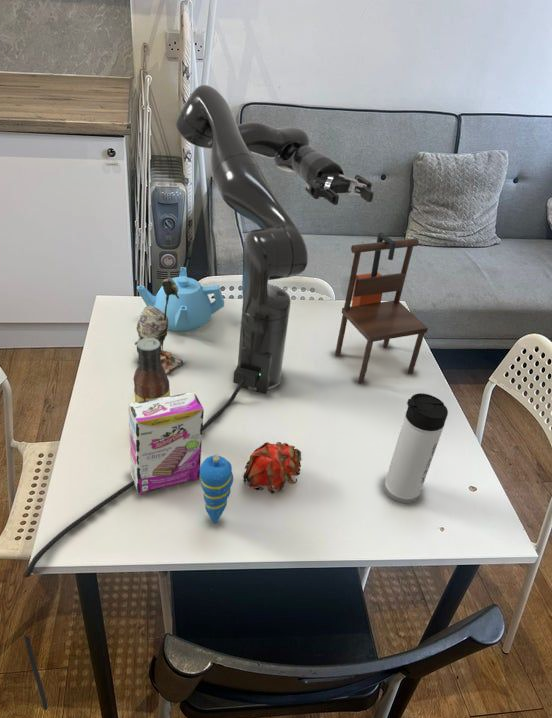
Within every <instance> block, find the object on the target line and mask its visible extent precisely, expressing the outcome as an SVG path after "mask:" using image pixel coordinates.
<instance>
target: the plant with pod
mask: <svg viewBox="0 0 552 718" xmlns="http://www.w3.org/2000/svg"><path fill="white" fill-rule="evenodd" d="M160 284H161V287H162V286H163V289H164V292H165V294H166V306H165V313H163V312H162V311H161V310H159V309H157V308H155V307H153V306H151V305H145V306H144V307H143V310H142V312H141V314H140V316H139V319H138V321H137V323H136V327H135V328H136V332H137V334H138V337H139V338H138V339H137V340H136V341H135V342H134V344H133V345H134V346H137V342H138V341H139V340H141V339H144V338H155V339H157V340H158V341H159V342H160V343H161V352H160V356H161V363H162V366H163V368H164V371H165V373H166V374H169V373H170V372H172V370H174V369H175V368H176V367H179V366H180V365H183V364H184V362H185V361H184V360H182V359H179V358H178V357H177V356H176V355H175V354H174V353H172V352H171V351H168V350H164V349H163V348H164V341H165V339H166V337H167V336H168V317H167V316H166V311H167V304H168V299H169V295H171V294H172V295H175V296H176V297H177V298H178V299H179V297H178V294H177V292H178V287H177V286H176V284H175V282H174V281H173V279H172V278H171V277H169V278H165V279H162V280H161V281H160ZM150 303H151V302H150ZM137 364H138V365H139V360H138V361H137Z"/></svg>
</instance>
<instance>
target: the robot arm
mask: <svg viewBox="0 0 552 718" xmlns="http://www.w3.org/2000/svg"><path fill="white" fill-rule="evenodd" d="M175 129H176V130H177V132H178V133H179V135H180V136H181V137H182V138H183V139H184V140H185V141H187V142H188V143H190V144H191V145H194V146H196V147H199V148H202V149H211V158H210V166H211V167H210V168H211V169H210V170H211V176H212V179H213V182H214V185H215V186H216V188H217V190H218V192H219V194H220V197H221V198H222V200H223V202H225V204H226V205H227V206H228V207H230V208H231V209H232V210H234V211H235V212H236V213H237V214H239V215H241V216H242V217H243V218H245V219H247V220H249V221H251V223H253V224H255V225H256V226H258V227H259V228H258V229H252V230H250V231H249V232H247V234H246V236H245V238H244V241H243V248H242V251H243V252H242V280H241V288H242V289H241V292H242V293H241V294H242V308H241V309H242V310H241V321H240V332H239V333H240V334H239V345H238V355H237V356H238V357H237V366H236V368H235V369H234V371H233V382H232V383H234V384H237V387H235V389H234V390H233V392H232V395H231V396H230V398H229V399H228V400H227V402H225V404H224V405H223V406H222V407H221V408H220V409H219V410H218V411H216V413H215V414H213V415H212V416H211V417H210V418H209V419H208V420H207V421H206V422H205V423H203V429H202V433H203V432H204V431H205V430H206V429H207V428H208V427H209V426H210V425H211V424H212V423H213V422H215V420H216V419H217V418H219V417H220V416H221V415H222V414H223V412H225V410H226V409H227V408H228V407H229V406H230V405H231V404H232V403H233V402H234V400H235V399H236V397H237V395H238V394H239V392H240V391H241V389H245V390H249V391H252V392H256V393H260V394H264V395H266V394H268V392H271V391H272V390H275V389H276V388H278V387H279V386H280V384H281V382H282V372H283V371H282V370H283V363H284V356H285V355H284V354H285V348H286V340H287V333H288V325H289V319H290V311H291V304H292V303H291V301H292V300H291V296H290V295H289V293H288V292H287V291H286V290H285V289H283V288H281V287H279V286H277V285H274V284H270V283H269V281H272V280H280V279H287V278H292V277H293V278H294V277H296V276H299V275H300V274H302V273H303V272H304V271H306V268H307V266H308V261H309V256H308V255H309V254H308V249H307V245H306V242H305V239H304V236H303V235H302V233H301V231H300V230H299V228H298V227H297V226H296V224H295V223H294V221H293V220H292V218H291V217H290V215H289V214H288V213H287V212H286V210H285V209H284V207H283V206H282V204H281V203H280V202H279V200H278V199H277V197H276V196H275V194H274V193H273V191H272V189H271V187H270V185H269V184H268V182H267V180H266V178H265V176H264V173H263V172H262V169H261V168H260V166H259V164H258V163H257V160H256V159H255V157H254V156H253V154H254V155H257V156H259V157H263V158H266V159H273V163H274V165H275V166H276V167H277V168H278V169H279V170H281V171H284V172H286V173H293V174H297V175H298V176H299V177H300V178H301V179H302V180H303V181H304V182H305V188H304V189H305V191H306V192H307V193H308V194H309V196H311V197H312V199H314V200H319V199H320V198H321V199H322V200H326V201H328V202H329V203H331V204H332V205H333V206H337V205H338V203H339V199H340V196H339V195H342V194H343V195H347V196H350V197H353V196H359V197H360V198H362V199H363V200H365V201H366V202H367V203H371V202H373V199H374V194H375V193H374V192H373V191H372V187H373V183H372V182H370V181H369V180H367V179H366V178H364V177H363V176H361V175H360V174H356V175H355V176H354V178H352V177H349V176H347V175H346V174H345V173H344V171H343V169H342V167H341V165H340V164H338V163H337V162H335V161H334V160H332V158H330V157H329V156H327V155H325V154H324V153H321V152H320V151H318V150H317V149H315V148H314V147H313V146H311V145H310V137H309V134H308V133H307V132H306V131H305V130H304V129H301V128H299V127H295V126H294V127H293V126H287V127H286V126H285V127H274V126H271V125H269V124H265V123H263V122H259V121H248V122H243V123H240V124H237V121H236V119H235V116H234V113H233V111H232V109H231V107H230V105H229V104H228V102H227V100H226V98H224V96H223V95H222V94H221V93H220V92H219V91H218V90H217V89H216V88H214V87H213V86H210V85H207V84H200V85H199V86H197V87H196V88H195V89H193V91H192V92H191V93H190V95H189V97H187V100H186V101H185V103H184V105H183V107H182V108H181V110H180V111H179V113H178V115H177V118H176V120H175ZM350 187H351V189H350ZM133 487H135V483H134V480H133V479H132V480H131V482H129V483H127V484H126V485H124V486H123V487H122V488H120V489H119V490H117V491H116V492H114V493H113V494H111V495H110V496H108V497H107V498H105V499H104V500H102V501H101V502H100V503H98V504H96V506H93V508H91V509H90V510H88V511H87V512H86V513H84V514H83V515H82V516H80V517H79V518H77V519H76V520H75V521H73V522H72V523H71V524H69V525H67V526H66V527H65V528H63V529H62V530H61V531H60V532H59V533H57V534H56V535H55V536H54V537H53V538H52V539H51V540H50V541H49V542H48V543H46V544H45V545H44V546H43V547H42V548H41V549H40V550H39V551H38V552H37V553H36V554H35V555H34V557H33V558H32V560H31V561H30V563H29V564H28V566H27V568H26V570H25V572H24V578H25V579H27V578H29V577H30V576H31V574H32V573H33V572H32V571H33V570H34V568H35V566H36V565H37V563H38V562H39V560H40V559H41V558H42V557H43V556H44V555H45V554H46V553H47V552H48V551H49V550H50V549H51V548H52V547H54V546H55V545H56V543H57V542H59V541H60V540H61V539H62V538H63V537H65V536H66V535H67V534H68V533H69V532H71V531H73V529H75V528H76V527H78V526H79V525H80V524H82V523H83V522H85V521H86V520H87V519H88V518H90V517H91V516H92V515H94V514H95V513H97V512H98V511H99V510H101V509H103V508H104V507H105V506H107V505H108V504H109V503H111V502H112V501H114V500H115V499H117V498H118V497H120V496H121V495H123V494H124V493H126V492H127V491H128V490H130V489H131V488H133ZM23 637H24V642H25V649H26V652H27V657H28V659H29V663H30V667H31V669H32V673H33V676H34V679H35V682H36V686H37V689H38V693H39V697H40V700H41V705H42V708H43V710H44V711H47V710H48V709H49V708H48V701H47V698H46V694H45V690H44V685H43V683H42V680H41V676H40V672H39V668H38V665H37V663H36V659H35V655H34V652H33V647H32V643H31V637H30V636H28V635H25V634H24V635H23Z"/></svg>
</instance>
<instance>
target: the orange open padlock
mask: <svg viewBox="0 0 552 718" xmlns="http://www.w3.org/2000/svg"><path fill="white" fill-rule="evenodd" d="M377 242H387V243H388V244H390V249H388V250H389V251H388V256H387V260H389V261H393V260H394V256H395V250H396V248H395V245H396V242H395V240H393V239H392V238H390V237H388V236H387V235H386V234H384V233H383V232H379V233H377V238H376V243H377ZM381 254H382V250H378V251H374V254H373V255H374V256H373V261H372V267H371V272H370V273H363V274H357V275H356V280H355V284H354V289H353V294H352V299H351V305H350V307H352V306H359V305H366V304H373V303H379V302H382V298H383V293H379V294H372V295H365V296H358V297H354V291H355V286H356V281H357V279H359V278H367V277H375V276H382V274H380V273H379V272H378V271H379V265H380V259H381Z"/></svg>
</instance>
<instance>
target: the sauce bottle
mask: <svg viewBox="0 0 552 718" xmlns="http://www.w3.org/2000/svg"><path fill="white" fill-rule="evenodd" d="M138 340H139V339H138ZM138 340H137V341H138ZM161 350H162V346H161V343H160V342H159V341H158V340H157V339H155V338H144V339H141V340H139V341H138V342H137V345H136V352H137V354H138V355H137V356H138V361H139V364H138V366H137V367H136V369H135V371H134V375H133V385H134V388H133V393H134V403H136V402H142V401H147V400H152V399H158V398H163V397H169V396H171V389H170V381H169V378H168V375H167V373H165V371H164V368H163V366H162V363H161V356H160V352H161Z"/></svg>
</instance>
